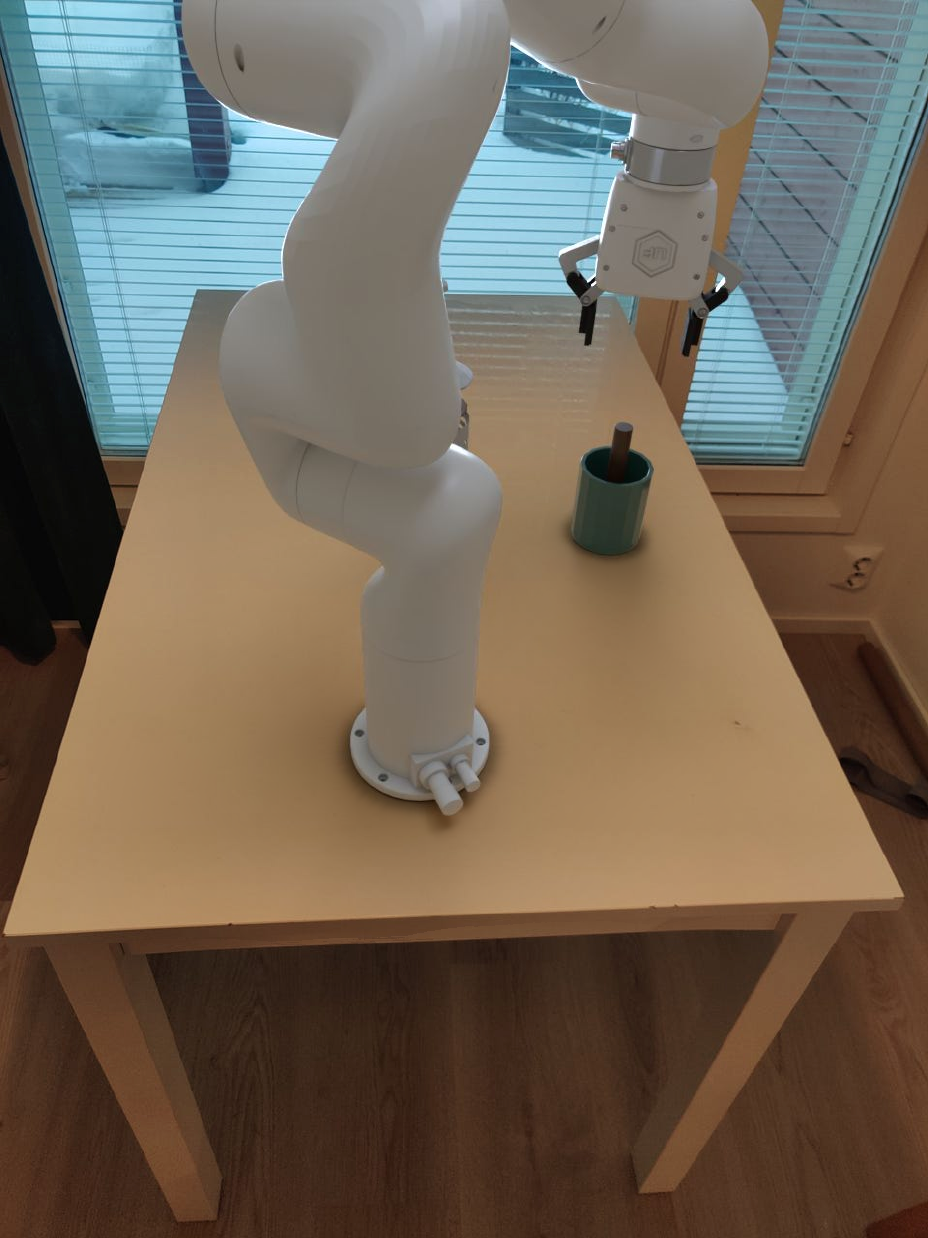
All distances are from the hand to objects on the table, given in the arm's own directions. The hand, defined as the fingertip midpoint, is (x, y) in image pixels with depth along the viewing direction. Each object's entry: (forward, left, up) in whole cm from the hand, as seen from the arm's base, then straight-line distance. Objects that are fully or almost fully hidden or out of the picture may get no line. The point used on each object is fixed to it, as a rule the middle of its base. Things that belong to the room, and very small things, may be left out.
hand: (636, 345), depth 93 cm
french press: (+20, +13, -24) cm, 34 cm away
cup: (0, 0, -24) cm, 24 cm away
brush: (0, -1, -23) cm, 23 cm away
